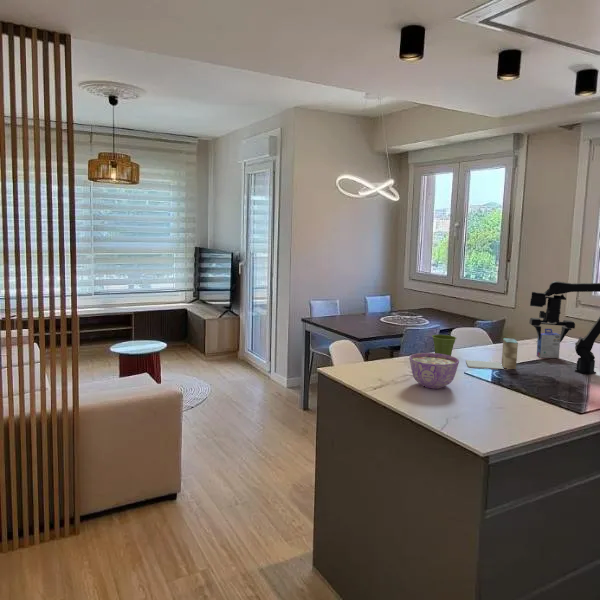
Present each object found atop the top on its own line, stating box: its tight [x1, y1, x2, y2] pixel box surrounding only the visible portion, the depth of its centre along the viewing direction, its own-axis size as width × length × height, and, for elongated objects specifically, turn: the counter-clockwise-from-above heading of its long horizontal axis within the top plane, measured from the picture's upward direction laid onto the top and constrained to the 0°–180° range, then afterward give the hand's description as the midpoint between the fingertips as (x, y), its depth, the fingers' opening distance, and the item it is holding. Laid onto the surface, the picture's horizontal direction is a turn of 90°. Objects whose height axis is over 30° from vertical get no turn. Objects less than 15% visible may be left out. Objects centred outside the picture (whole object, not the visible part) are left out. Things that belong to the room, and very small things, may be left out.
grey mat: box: [465, 359, 505, 370], centre depth 250 cm, size 16×12×1 cm
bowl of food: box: [409, 352, 460, 390], centre depth 215 cm, size 20×20×12 cm
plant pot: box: [431, 334, 457, 356], centre depth 261 cm, size 12×12×11 cm
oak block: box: [501, 337, 519, 370], centre depth 247 cm, size 5×9×13 cm, turn 168°
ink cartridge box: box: [536, 328, 561, 359], centre depth 269 cm, size 10×6×14 cm, turn 89°
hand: (549, 341), depth 245 cm, fingers open, 9 cm apart
